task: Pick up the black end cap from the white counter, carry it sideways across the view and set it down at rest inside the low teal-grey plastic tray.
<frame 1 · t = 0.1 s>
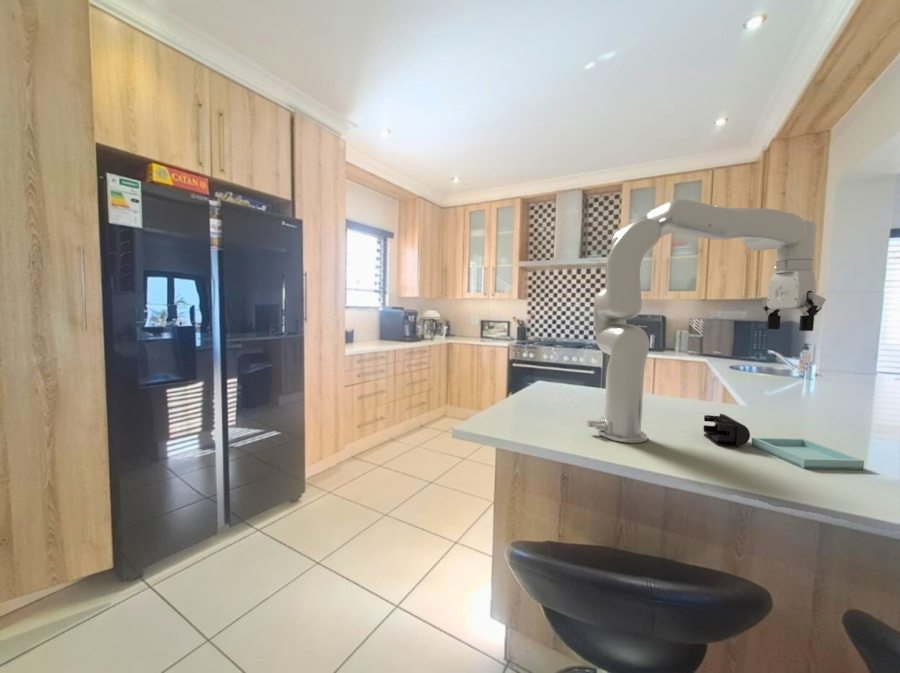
hand: (788, 329, 102), 31 cm above the countertop, tool pointing down, fingers open, 9 cm apart
tray: (802, 456, 91), on the countertop
end cap: (724, 442, 101), on the countertop
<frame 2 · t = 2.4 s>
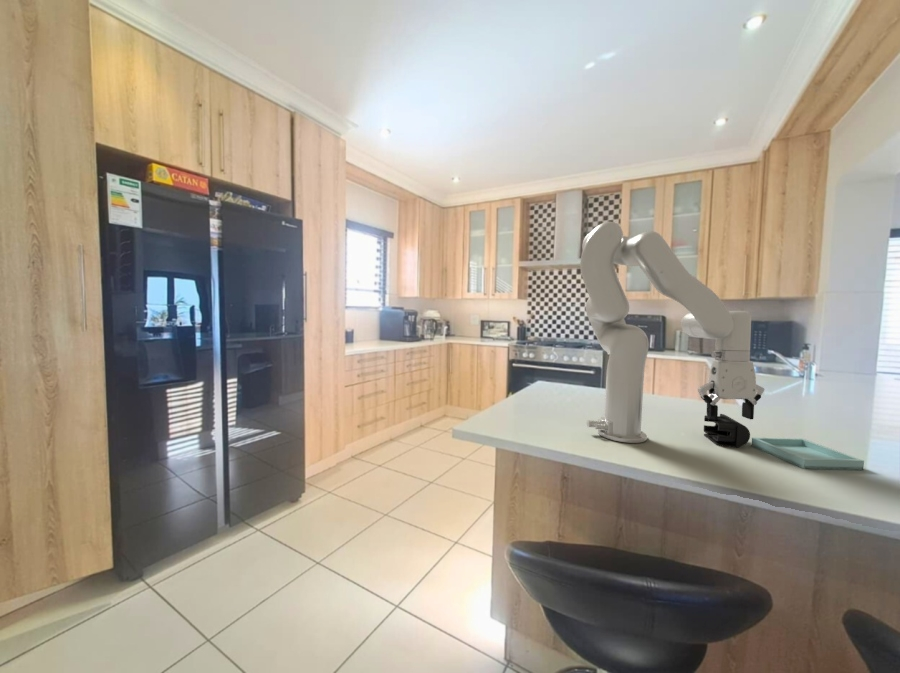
hand: (729, 418, 100), 7 cm above the countertop, tool pointing down, fingers open, 9 cm apart
end cap: (724, 442, 101), on the countertop, touching gripper
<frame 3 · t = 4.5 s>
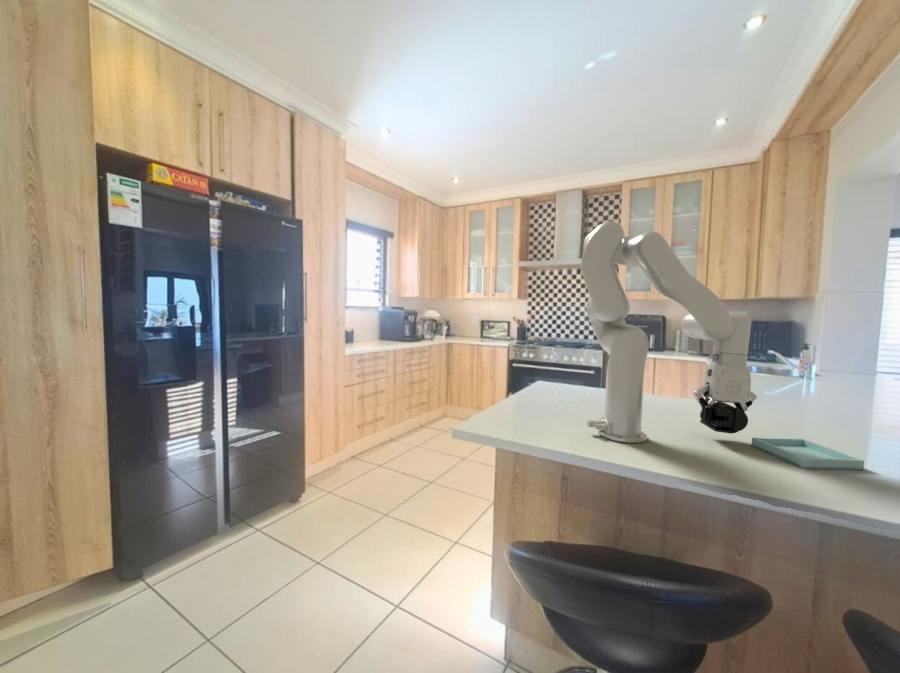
hand: (721, 422, 101), 5 cm above the countertop, tool pointing down, fingers closed on end cap, 8 cm apart
end cap: (721, 429, 101), point 4 cm above the countertop, touching gripper
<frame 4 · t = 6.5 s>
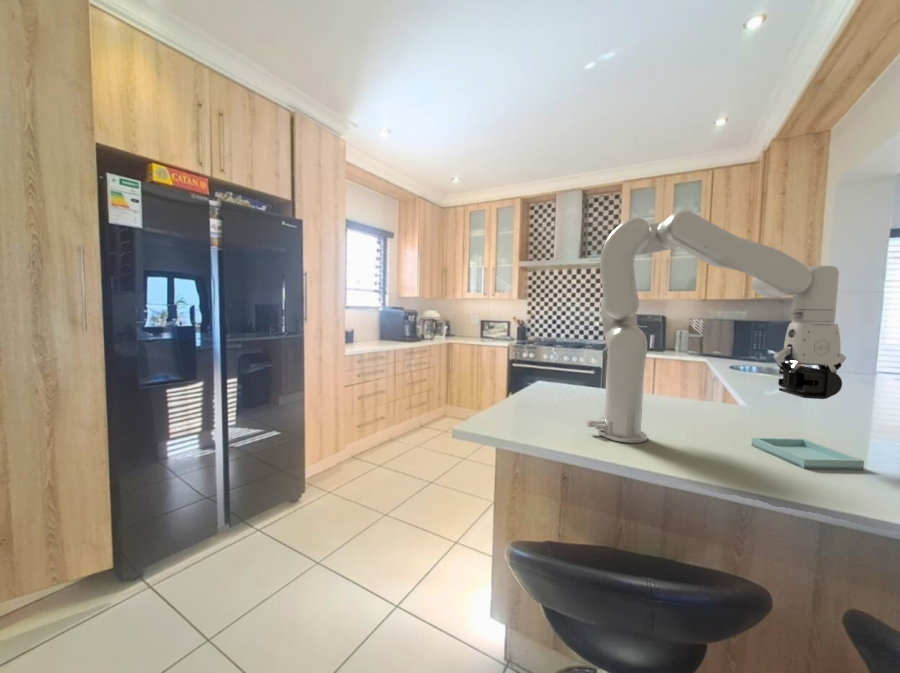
hand: (806, 388, 90), 17 cm above the countertop, tool pointing down, fingers closed on end cap, 8 cm apart
end cap: (806, 395, 90), point 15 cm above the countertop, touching gripper
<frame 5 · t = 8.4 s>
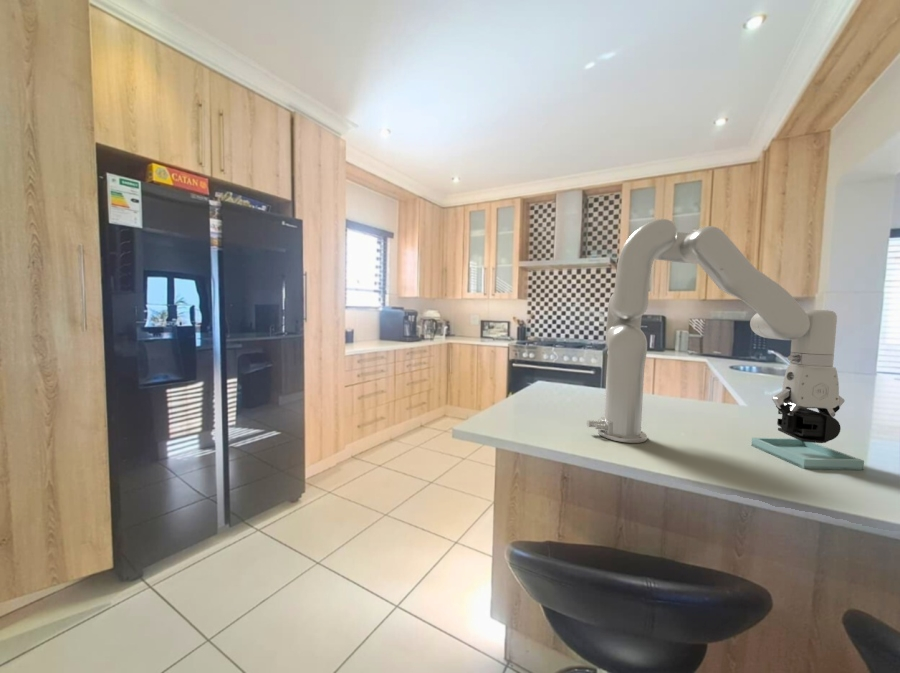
hand: (805, 430, 90), 7 cm above the countertop, tool pointing down, fingers closed on end cap, 8 cm apart
end cap: (805, 437, 90), point 5 cm above the countertop, touching gripper
when the fingers open (3 cm above the countertop, at t = 9.8 s): end cap stays where it is, resting on tray.
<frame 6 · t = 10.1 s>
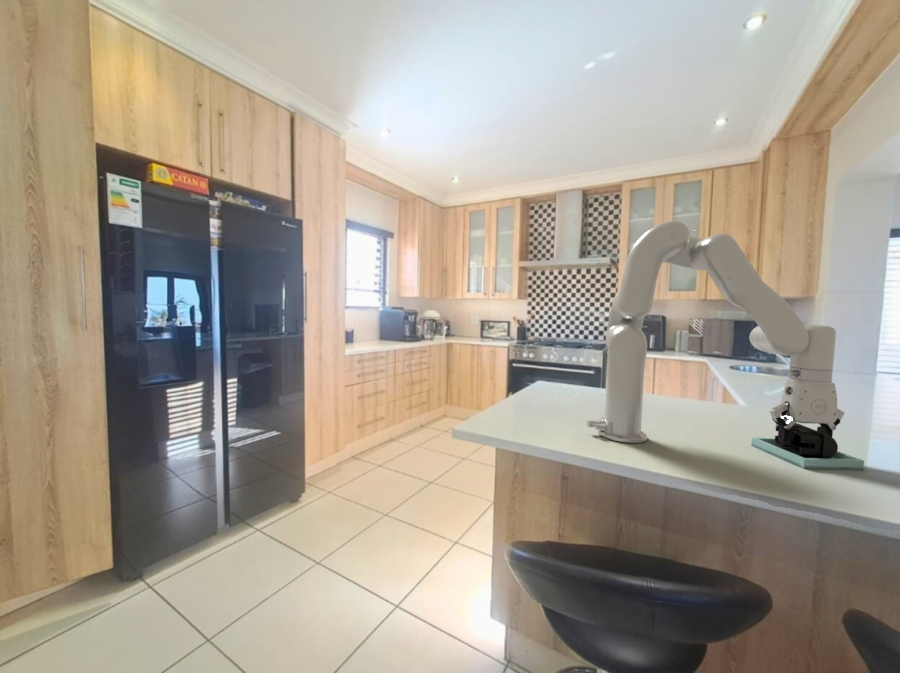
hand: (803, 443, 91), 3 cm above the countertop, tool pointing down, fingers open, 9 cm apart
end cap: (803, 455, 91), resting on tray
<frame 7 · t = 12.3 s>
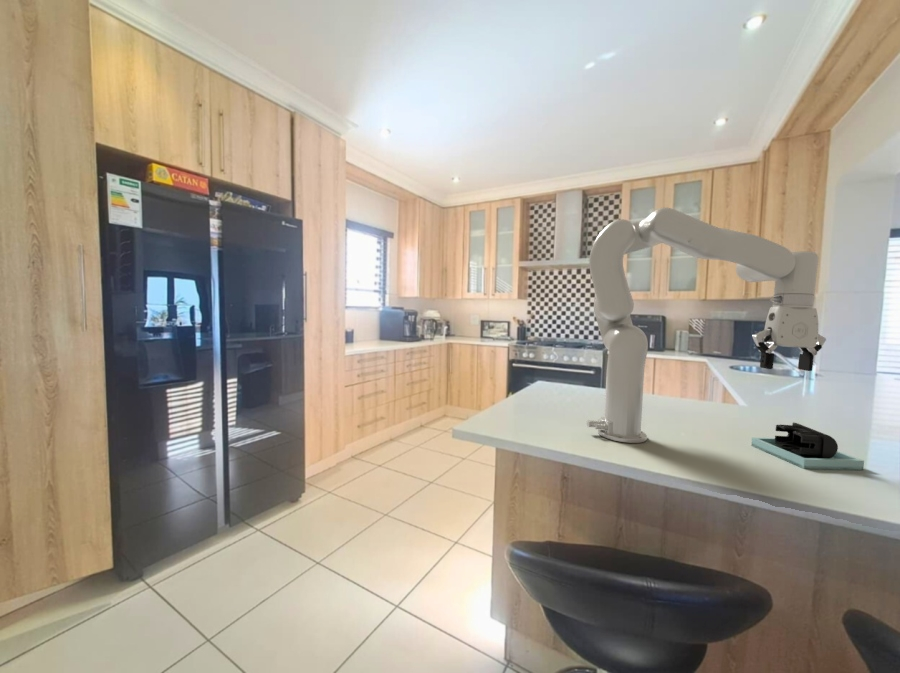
hand: (785, 369, 93), 21 cm above the countertop, tool pointing down, fingers open, 9 cm apart
nothing on the countertop moved.
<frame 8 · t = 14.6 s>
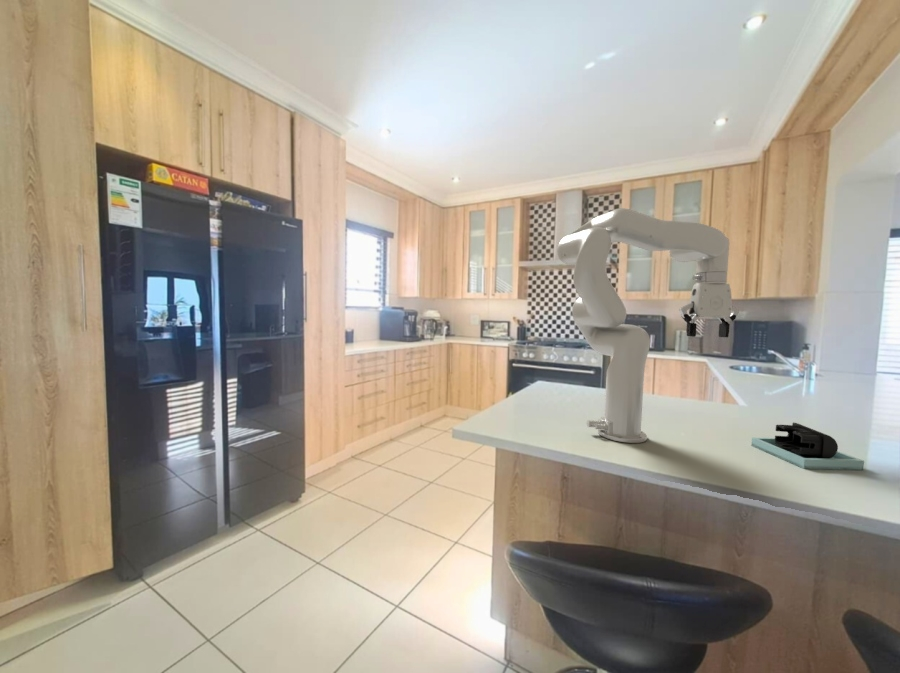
hand: (707, 336, 110), 28 cm above the countertop, tool pointing down, fingers open, 9 cm apart
nothing on the countertop moved.
at the end: end cap inside the target area on the tray (0.1 cm from its centre), point 0.4 cm above the tray's base; end cap tilted 0°; the gripper is holding nothing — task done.
